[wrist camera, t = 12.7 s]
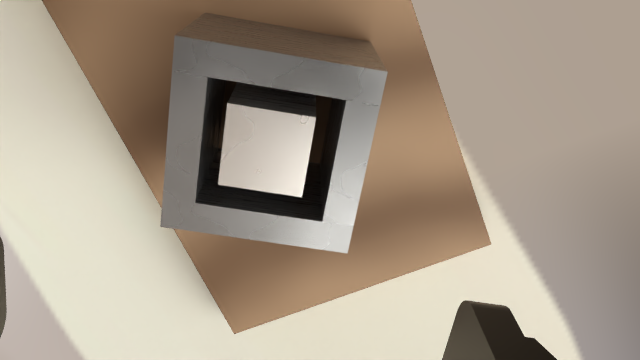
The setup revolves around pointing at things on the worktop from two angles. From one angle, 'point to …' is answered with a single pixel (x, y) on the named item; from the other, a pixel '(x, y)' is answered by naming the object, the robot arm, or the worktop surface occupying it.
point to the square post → (267, 139)
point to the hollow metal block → (282, 73)
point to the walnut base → (382, 168)
